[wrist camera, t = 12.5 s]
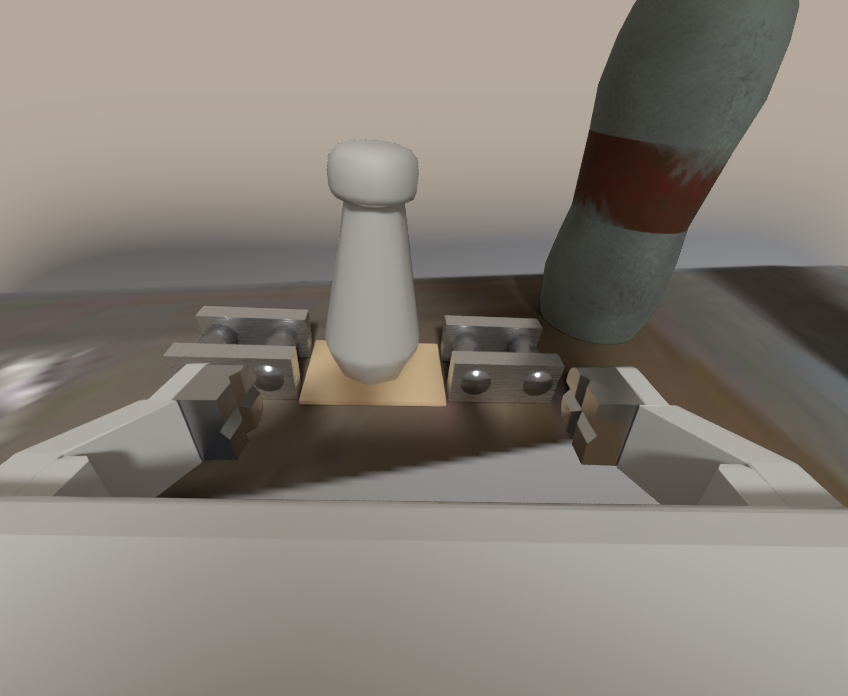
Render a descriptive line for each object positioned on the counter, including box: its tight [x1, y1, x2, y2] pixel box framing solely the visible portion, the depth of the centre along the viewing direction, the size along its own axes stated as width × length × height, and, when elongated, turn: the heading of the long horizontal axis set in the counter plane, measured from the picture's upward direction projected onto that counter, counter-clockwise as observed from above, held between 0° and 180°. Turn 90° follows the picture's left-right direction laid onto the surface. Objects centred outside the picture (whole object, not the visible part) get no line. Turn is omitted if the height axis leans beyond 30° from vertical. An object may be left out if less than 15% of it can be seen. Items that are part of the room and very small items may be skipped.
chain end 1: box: [163, 306, 313, 399], centre depth 23 cm, size 6×5×3 cm
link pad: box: [299, 340, 446, 406], centre depth 24 cm, size 9×6×1 cm
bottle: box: [540, 0, 799, 344], centre depth 24 cm, size 9×9×30 cm
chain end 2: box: [440, 315, 565, 403], centre depth 24 cm, size 6×5×3 cm
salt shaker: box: [325, 140, 419, 386], centre depth 21 cm, size 6×6×13 cm
